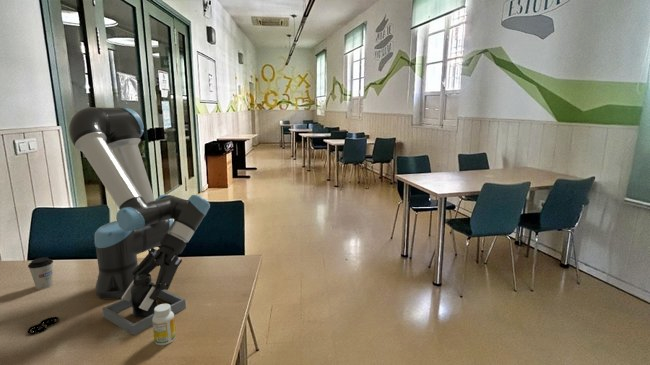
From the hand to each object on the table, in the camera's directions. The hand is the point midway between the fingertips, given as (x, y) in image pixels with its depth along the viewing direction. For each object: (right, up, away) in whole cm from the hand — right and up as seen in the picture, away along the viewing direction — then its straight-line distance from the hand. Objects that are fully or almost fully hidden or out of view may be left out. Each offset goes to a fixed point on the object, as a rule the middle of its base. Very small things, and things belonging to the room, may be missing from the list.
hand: (133, 304), depth 104 cm
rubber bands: (-24, -6, -3) cm, 25 cm away
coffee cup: (-43, -1, +20) cm, 48 cm away
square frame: (+2, -4, +3) cm, 5 cm away
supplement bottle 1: (+2, -4, +4) cm, 6 cm away
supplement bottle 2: (+14, -6, -9) cm, 18 cm away
